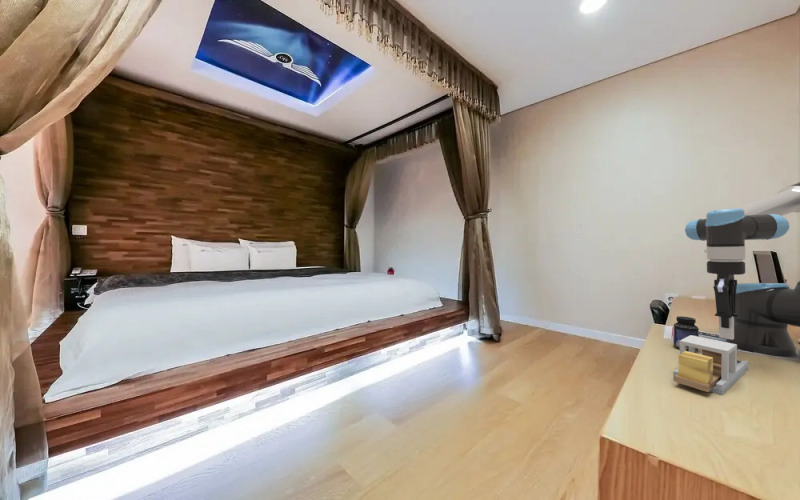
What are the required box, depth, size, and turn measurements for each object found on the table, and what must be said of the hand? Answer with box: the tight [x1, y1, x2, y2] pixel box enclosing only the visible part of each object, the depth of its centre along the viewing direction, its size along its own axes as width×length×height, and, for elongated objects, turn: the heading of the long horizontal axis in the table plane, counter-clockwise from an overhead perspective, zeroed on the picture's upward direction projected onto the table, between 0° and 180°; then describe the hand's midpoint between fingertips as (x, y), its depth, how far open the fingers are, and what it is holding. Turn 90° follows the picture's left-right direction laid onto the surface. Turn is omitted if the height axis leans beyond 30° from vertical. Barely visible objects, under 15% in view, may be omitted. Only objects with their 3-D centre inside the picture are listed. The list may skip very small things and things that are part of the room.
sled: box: [673, 349, 730, 393], centre depth 74 cm, size 22×6×7 cm, turn 120°
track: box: [672, 335, 749, 396], centre depth 78 cm, size 27×9×10 cm, turn 120°
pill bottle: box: [673, 315, 700, 353], centre depth 97 cm, size 6×6×11 cm
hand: (726, 337), depth 83 cm, fingers closed
